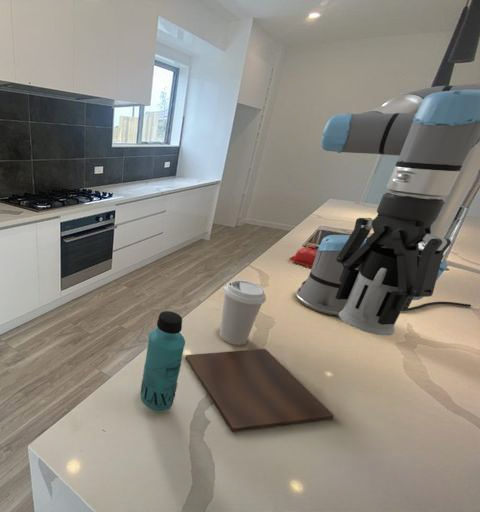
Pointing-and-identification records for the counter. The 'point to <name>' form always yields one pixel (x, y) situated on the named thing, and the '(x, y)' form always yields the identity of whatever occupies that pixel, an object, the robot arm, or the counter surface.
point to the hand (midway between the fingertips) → (362, 309)
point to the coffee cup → (240, 310)
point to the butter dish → (305, 256)
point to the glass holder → (373, 292)
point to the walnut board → (255, 390)
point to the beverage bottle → (163, 362)
